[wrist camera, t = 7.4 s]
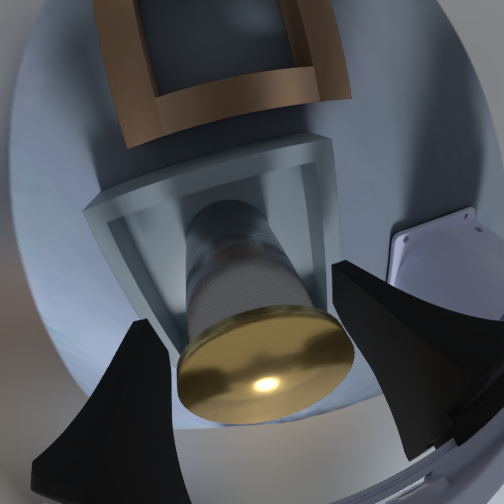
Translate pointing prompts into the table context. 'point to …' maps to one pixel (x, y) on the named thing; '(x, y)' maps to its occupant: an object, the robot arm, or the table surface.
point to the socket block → (221, 91)
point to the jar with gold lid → (252, 324)
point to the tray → (209, 191)
